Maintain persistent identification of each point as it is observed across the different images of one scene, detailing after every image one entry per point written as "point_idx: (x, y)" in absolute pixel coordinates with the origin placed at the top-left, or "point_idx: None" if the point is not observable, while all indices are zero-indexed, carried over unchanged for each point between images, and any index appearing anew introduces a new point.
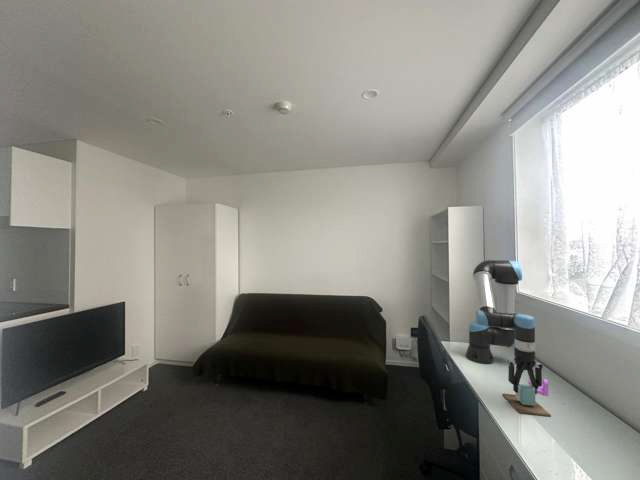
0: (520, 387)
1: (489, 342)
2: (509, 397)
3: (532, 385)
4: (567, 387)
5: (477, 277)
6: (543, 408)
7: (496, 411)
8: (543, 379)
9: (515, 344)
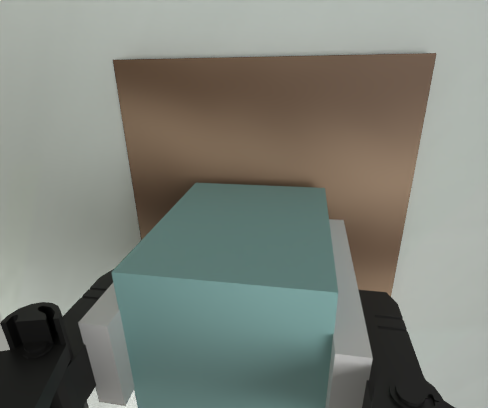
0: (140, 378)
1: None
2: (158, 136)
3: (365, 406)
4: None
5: None
6: (391, 285)
7: (22, 303)
8: None
9: None
